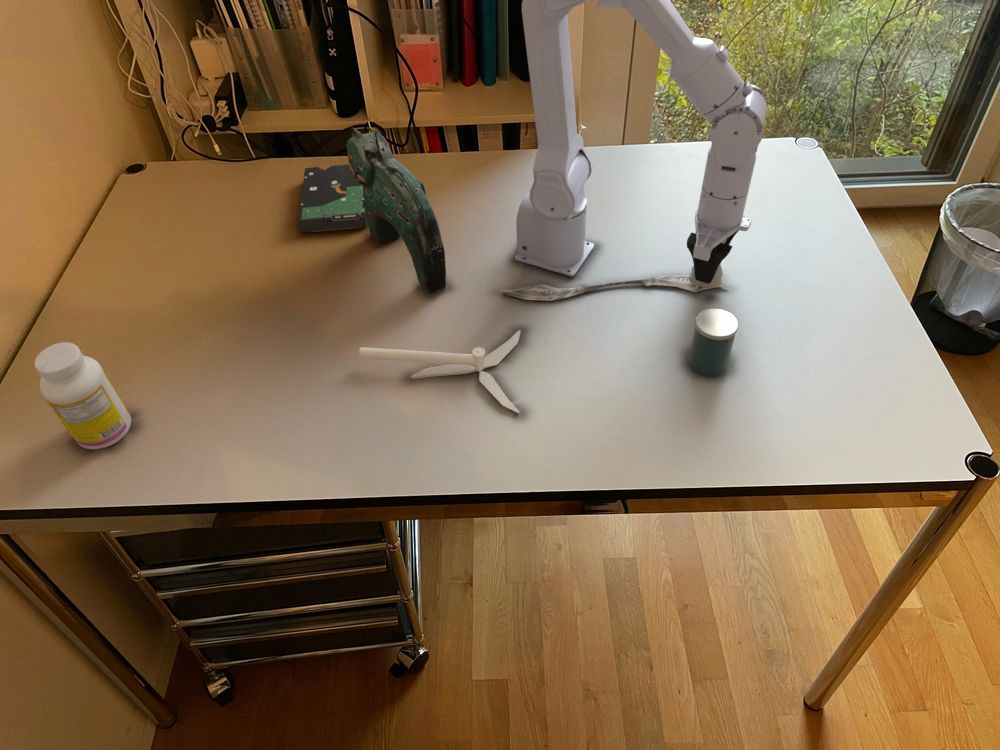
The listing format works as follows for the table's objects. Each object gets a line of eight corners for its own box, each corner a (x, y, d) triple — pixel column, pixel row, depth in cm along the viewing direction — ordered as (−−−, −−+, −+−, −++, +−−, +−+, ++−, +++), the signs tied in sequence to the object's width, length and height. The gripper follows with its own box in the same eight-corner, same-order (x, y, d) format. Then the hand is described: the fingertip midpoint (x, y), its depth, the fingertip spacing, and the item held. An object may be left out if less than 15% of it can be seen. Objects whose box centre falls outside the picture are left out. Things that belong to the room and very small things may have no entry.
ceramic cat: (359, 233, 120) (334, 112, 105) (396, 218, 122) (376, 98, 108) (421, 303, 108) (403, 178, 94) (461, 285, 111) (449, 161, 96)
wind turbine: (344, 382, 93) (518, 393, 91) (373, 304, 103) (530, 312, 101) (349, 403, 96) (519, 415, 94) (377, 325, 106) (530, 334, 104)
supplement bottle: (84, 411, 97) (35, 337, 87) (138, 407, 97) (95, 332, 88) (69, 454, 92) (15, 381, 83) (125, 449, 92) (79, 375, 83)
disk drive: (307, 182, 130) (301, 234, 120) (303, 167, 128) (297, 219, 118) (369, 176, 131) (368, 228, 121) (366, 161, 129) (365, 212, 119)
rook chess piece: (723, 273, 110) (734, 225, 104) (719, 292, 107) (730, 243, 101) (691, 267, 111) (701, 220, 105) (686, 286, 108) (696, 237, 102)
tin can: (682, 369, 98) (690, 328, 93) (694, 344, 101) (703, 303, 96) (721, 381, 96) (731, 341, 91) (732, 355, 99) (743, 315, 94)
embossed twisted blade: (731, 290, 108) (720, 267, 111) (732, 287, 107) (721, 264, 110) (501, 313, 106) (497, 289, 110) (500, 309, 106) (497, 286, 109)
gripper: (741, 226, 92) (721, 311, 102) (772, 164, 101) (751, 249, 111) (683, 211, 94) (669, 296, 104) (718, 153, 103) (702, 236, 113)
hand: (708, 271), depth 108 cm, fingers closed on rook chess piece, 4 cm apart
